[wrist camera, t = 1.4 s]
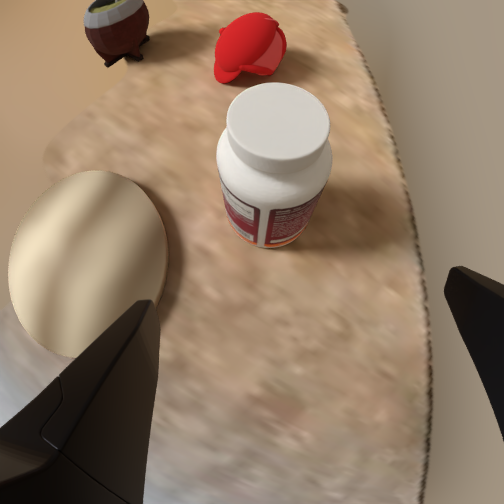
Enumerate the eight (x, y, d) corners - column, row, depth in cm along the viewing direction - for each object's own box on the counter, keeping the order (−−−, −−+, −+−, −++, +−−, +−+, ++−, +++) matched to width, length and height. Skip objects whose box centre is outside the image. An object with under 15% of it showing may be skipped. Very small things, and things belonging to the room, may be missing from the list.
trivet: (196, 198, 24) (193, 191, 23) (134, 387, 20) (128, 390, 19) (55, 165, 25) (49, 159, 24) (-1, 315, 21) (-9, 313, 20)
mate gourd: (118, 79, 27) (72, -32, 13) (88, 58, 29) (46, -33, 14) (171, 43, 29) (148, -66, 14) (136, 26, 30) (109, -65, 16)
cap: (257, 15, 26) (211, 4, 22) (300, 21, 23) (253, 6, 19) (241, 80, 31) (195, 77, 27) (279, 94, 28) (232, 91, 24)
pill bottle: (311, 180, 24) (347, 83, 14) (304, 255, 23) (350, 187, 12) (233, 169, 24) (224, 66, 14) (219, 244, 23) (196, 166, 12)
